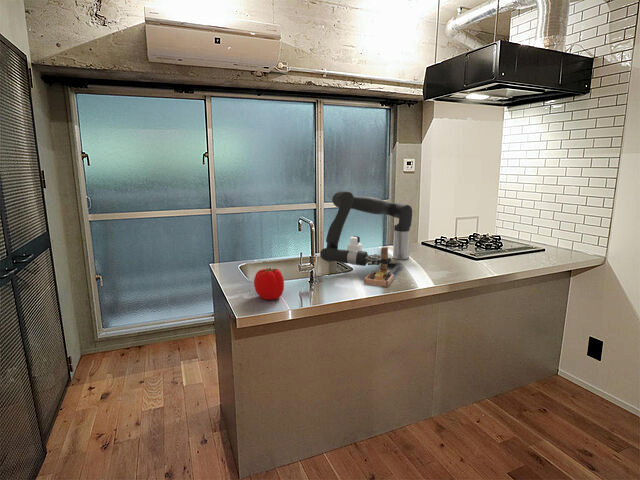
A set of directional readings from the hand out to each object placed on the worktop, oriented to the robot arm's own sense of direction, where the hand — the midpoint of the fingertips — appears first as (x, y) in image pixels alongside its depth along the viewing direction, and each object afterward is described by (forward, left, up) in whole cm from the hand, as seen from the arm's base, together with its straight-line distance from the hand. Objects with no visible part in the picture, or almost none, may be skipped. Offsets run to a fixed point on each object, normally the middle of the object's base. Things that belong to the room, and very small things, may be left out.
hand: (389, 261), depth 196 cm
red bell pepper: (+62, -13, -9) cm, 64 cm away
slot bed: (-5, -6, -9) cm, 12 cm away
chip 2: (+10, +2, -9) cm, 13 cm away
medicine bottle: (-18, -46, -9) cm, 50 cm away
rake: (+1, -2, -8) cm, 8 cm away
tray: (+9, +2, -9) cm, 13 cm away
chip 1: (+6, 0, -8) cm, 10 cm away
